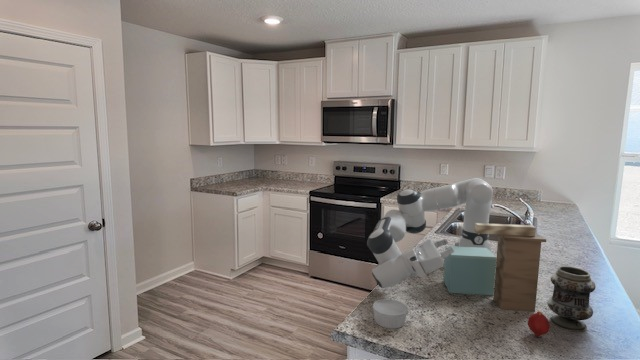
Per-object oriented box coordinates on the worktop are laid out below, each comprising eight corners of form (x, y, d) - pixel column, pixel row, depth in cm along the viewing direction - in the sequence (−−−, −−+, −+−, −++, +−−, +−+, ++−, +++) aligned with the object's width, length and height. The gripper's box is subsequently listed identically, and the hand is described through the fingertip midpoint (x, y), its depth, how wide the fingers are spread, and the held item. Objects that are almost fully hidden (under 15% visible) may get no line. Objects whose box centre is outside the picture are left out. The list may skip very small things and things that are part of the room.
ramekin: (394, 310, 125) (395, 296, 124) (414, 327, 114) (415, 311, 114) (366, 316, 121) (366, 301, 120) (383, 334, 110) (384, 317, 110)
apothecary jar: (593, 323, 118) (599, 270, 115) (588, 338, 109) (595, 281, 106) (549, 310, 126) (554, 260, 123) (542, 324, 117) (547, 270, 114)
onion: (528, 328, 114) (530, 304, 113) (550, 335, 110) (552, 310, 109) (524, 336, 110) (527, 311, 108) (547, 343, 106) (549, 317, 105)
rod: (476, 233, 126) (477, 225, 126) (474, 231, 129) (475, 223, 129) (535, 236, 124) (535, 227, 124) (531, 233, 127) (532, 225, 127)
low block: (443, 281, 150) (445, 245, 148) (484, 283, 148) (486, 247, 146) (449, 292, 139) (451, 254, 137) (493, 295, 137) (496, 257, 135)
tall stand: (489, 297, 135) (494, 229, 132) (526, 299, 134) (532, 231, 130) (499, 310, 125) (504, 237, 122) (539, 313, 124) (546, 239, 120)
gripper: (414, 259, 142) (447, 243, 140) (422, 280, 122) (461, 262, 120) (407, 245, 142) (439, 229, 140) (413, 264, 122) (452, 245, 120)
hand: (449, 244), depth 130 cm, fingers open, 8 cm apart
